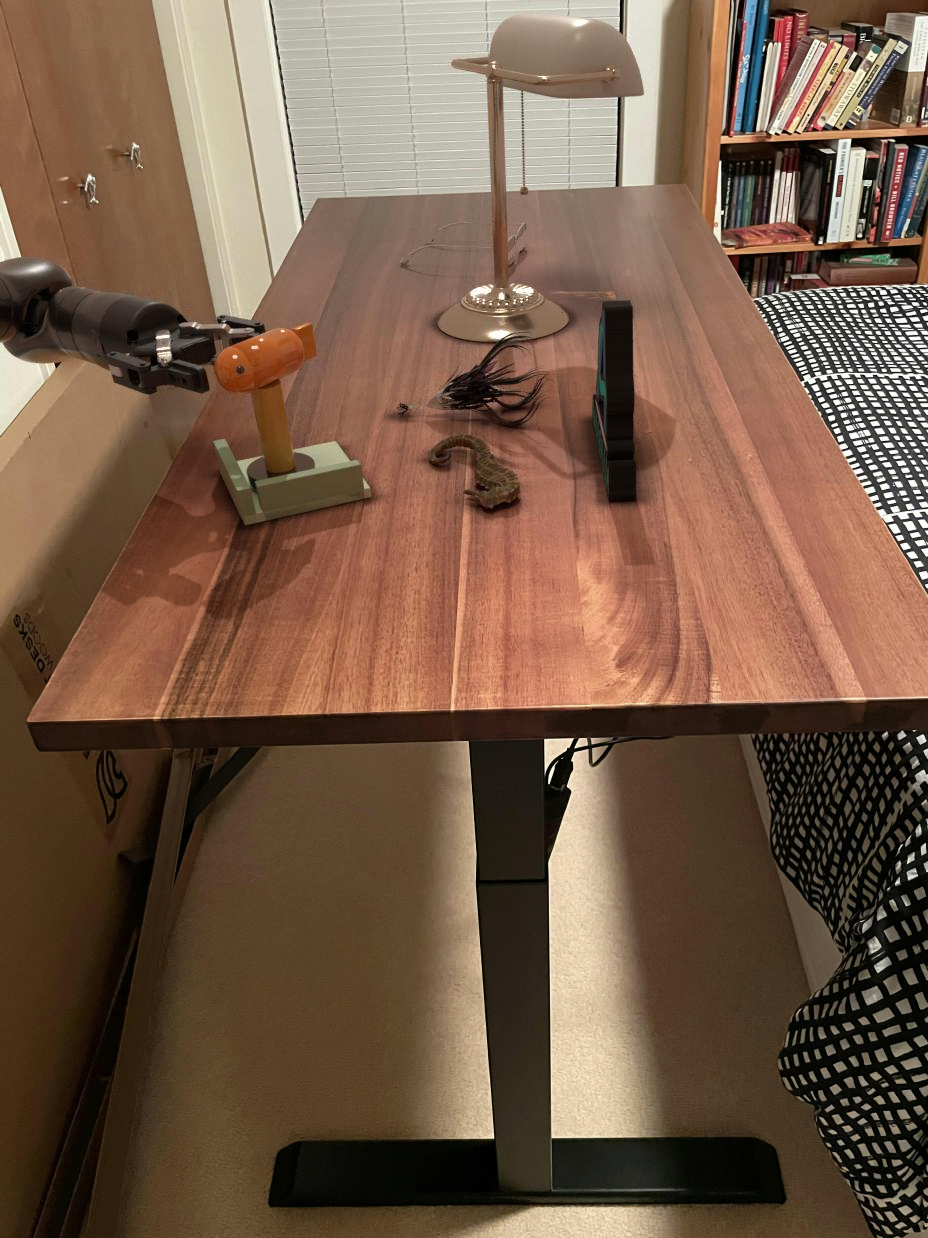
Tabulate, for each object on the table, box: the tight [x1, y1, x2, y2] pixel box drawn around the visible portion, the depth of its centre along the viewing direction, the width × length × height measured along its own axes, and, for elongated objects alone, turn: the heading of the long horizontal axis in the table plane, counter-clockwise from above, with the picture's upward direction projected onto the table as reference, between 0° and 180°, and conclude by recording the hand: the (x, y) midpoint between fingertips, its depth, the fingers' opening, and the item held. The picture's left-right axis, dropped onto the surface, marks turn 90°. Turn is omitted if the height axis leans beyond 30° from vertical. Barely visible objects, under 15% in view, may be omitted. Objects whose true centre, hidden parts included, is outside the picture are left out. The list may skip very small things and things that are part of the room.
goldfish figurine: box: [210, 322, 318, 493], centre depth 88 cm, size 11×6×14 cm, turn 144°
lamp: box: [436, 12, 645, 343], centre depth 122 cm, size 26×24×34 cm
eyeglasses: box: [399, 221, 527, 266], centre depth 157 cm, size 15×18×4 cm
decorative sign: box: [591, 299, 637, 501], centre depth 92 cm, size 19×2×15 cm, turn 1°
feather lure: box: [396, 331, 556, 428], centre depth 103 cm, size 9×18×8 cm, turn 83°
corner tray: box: [212, 438, 372, 526], centre depth 93 cm, size 12×12×4 cm
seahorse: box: [428, 433, 522, 510], centre depth 93 cm, size 6×15×2 cm, turn 24°
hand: (242, 366), depth 86 cm, fingers open, 8 cm apart
